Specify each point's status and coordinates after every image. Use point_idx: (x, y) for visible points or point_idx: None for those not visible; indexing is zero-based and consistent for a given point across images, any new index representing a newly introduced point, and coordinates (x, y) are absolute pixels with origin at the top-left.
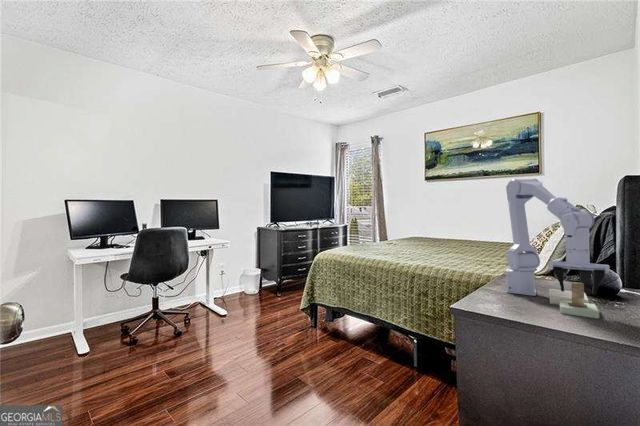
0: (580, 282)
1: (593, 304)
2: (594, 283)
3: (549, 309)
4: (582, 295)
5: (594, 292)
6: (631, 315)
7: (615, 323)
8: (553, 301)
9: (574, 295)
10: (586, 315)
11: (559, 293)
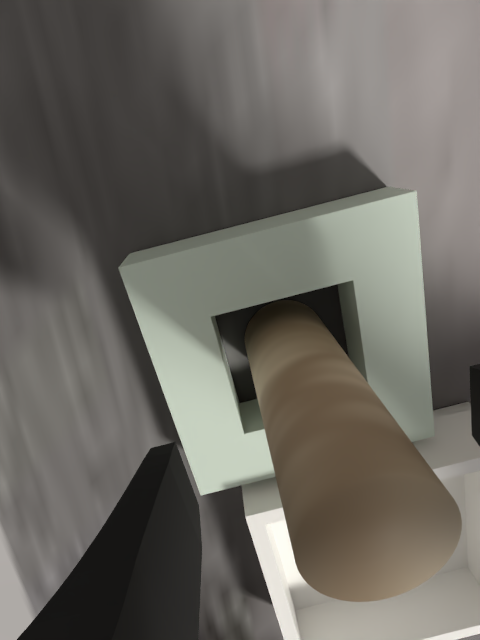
0: None
1: (205, 475)
2: (128, 568)
3: (468, 240)
4: (276, 399)
5: (156, 459)
6: (8, 503)
7: (8, 205)
8: (459, 420)
9: (348, 369)
10: (211, 232)
11: (435, 606)
